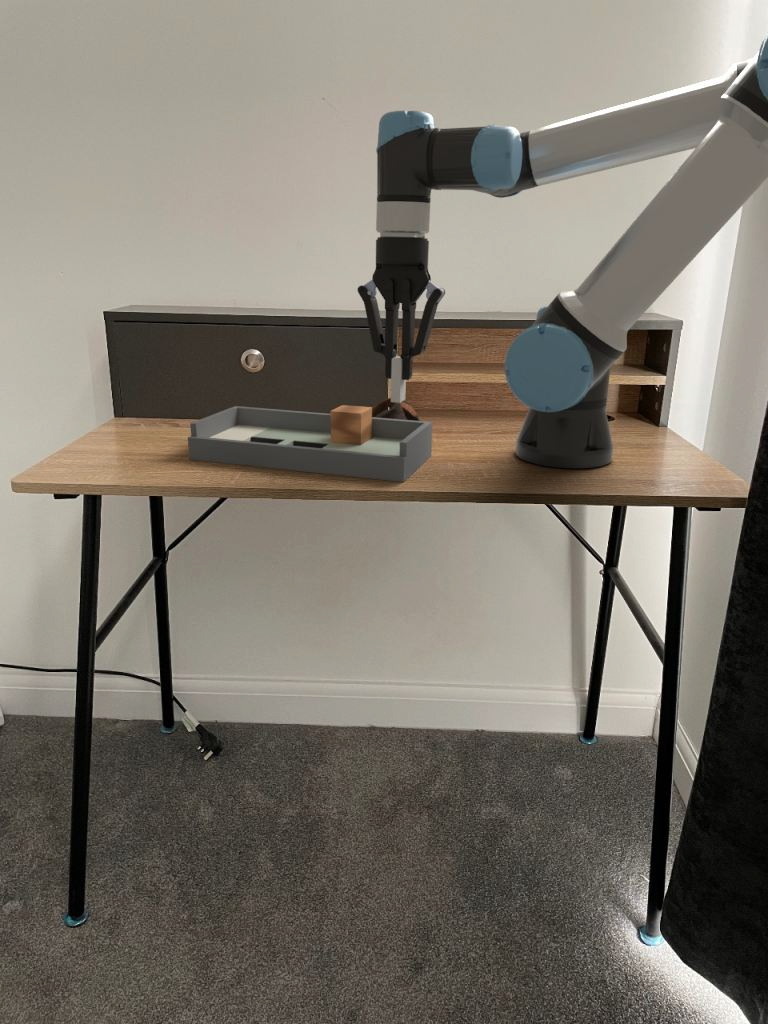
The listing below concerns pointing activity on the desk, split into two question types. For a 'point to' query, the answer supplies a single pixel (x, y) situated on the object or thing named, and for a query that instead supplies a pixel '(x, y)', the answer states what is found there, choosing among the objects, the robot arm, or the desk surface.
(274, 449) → the box
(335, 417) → the block
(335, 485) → the desk surface
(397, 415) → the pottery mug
